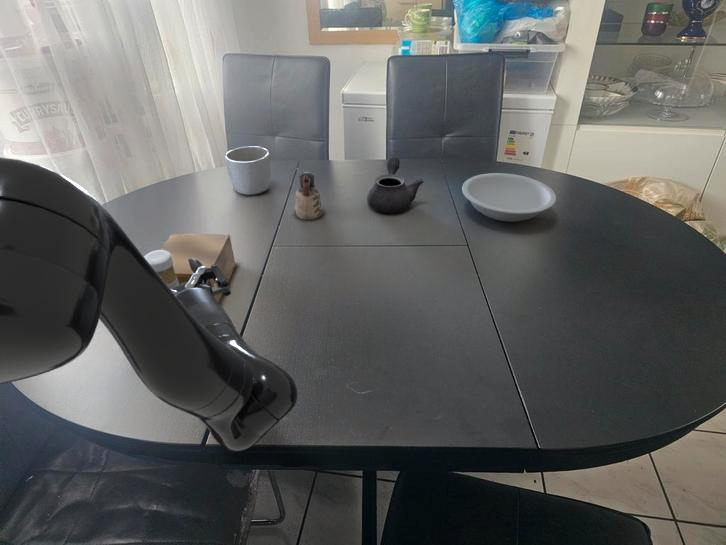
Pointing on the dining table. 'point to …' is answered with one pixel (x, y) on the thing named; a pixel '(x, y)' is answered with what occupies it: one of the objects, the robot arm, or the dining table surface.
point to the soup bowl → (508, 196)
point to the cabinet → (201, 254)
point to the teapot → (392, 190)
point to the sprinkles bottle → (163, 266)
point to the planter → (249, 169)
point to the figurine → (308, 198)
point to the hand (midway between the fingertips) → (165, 271)
